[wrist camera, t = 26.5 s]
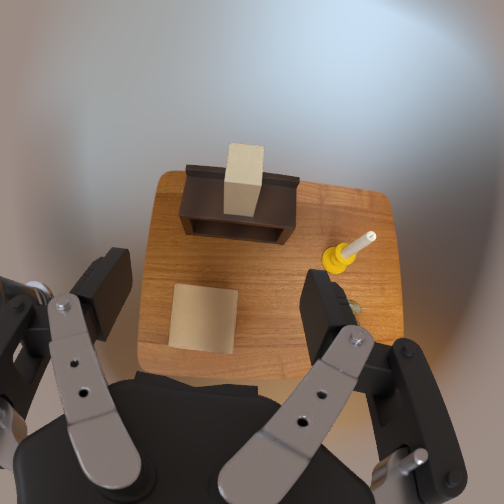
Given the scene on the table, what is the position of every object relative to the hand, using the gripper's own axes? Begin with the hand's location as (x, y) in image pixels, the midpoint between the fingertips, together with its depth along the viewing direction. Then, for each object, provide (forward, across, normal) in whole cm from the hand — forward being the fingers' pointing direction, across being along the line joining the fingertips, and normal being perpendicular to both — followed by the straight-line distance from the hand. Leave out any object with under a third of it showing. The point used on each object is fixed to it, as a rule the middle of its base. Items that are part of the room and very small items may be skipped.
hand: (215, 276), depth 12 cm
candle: (+34, -20, +18) cm, 44 cm away
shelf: (+38, -1, +13) cm, 41 cm away
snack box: (+32, -1, +7) cm, 33 cm away
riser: (+25, +2, +27) cm, 37 cm away
